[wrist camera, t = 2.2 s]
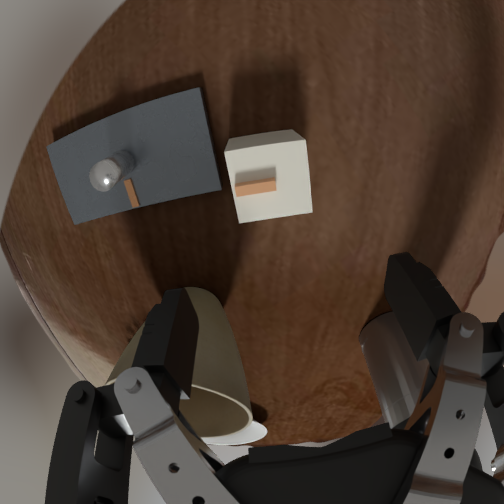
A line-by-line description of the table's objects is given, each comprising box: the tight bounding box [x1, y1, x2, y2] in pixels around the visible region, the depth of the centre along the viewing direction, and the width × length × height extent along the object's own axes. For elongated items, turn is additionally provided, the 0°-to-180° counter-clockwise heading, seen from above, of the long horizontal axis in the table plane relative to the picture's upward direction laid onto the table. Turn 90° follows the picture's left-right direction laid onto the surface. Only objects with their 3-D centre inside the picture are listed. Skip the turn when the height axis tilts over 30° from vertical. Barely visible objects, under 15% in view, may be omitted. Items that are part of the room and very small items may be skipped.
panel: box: [47, 87, 223, 225], centre depth 22 cm, size 18×10×6 cm, turn 99°
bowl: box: [201, 419, 267, 445], centre depth 57 cm, size 25×25×4 cm
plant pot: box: [105, 287, 253, 438], centre depth 29 cm, size 15×15×16 cm
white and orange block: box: [224, 129, 312, 223], centre depth 22 cm, size 6×6×7 cm
